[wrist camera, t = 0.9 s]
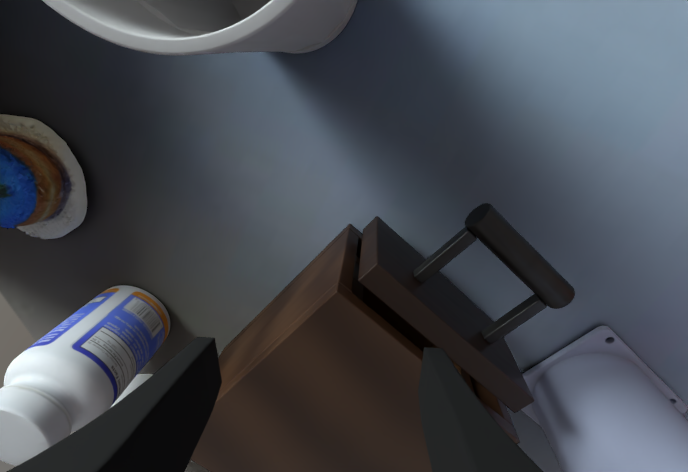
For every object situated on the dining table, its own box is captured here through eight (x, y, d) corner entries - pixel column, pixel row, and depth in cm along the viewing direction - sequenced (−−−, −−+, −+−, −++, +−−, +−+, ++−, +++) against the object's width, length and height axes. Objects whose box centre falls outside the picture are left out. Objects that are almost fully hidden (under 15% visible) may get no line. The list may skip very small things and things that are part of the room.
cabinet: (350, 222, 21) (336, 290, 14) (478, 336, 24) (520, 442, 17) (224, 348, 26) (167, 445, 19) (341, 432, 28) (330, 546, 21)
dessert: (53, 101, 19) (-14, 190, 16) (133, 181, 24) (94, 258, 21) (-65, 109, 20) (-148, 192, 17) (36, 183, 26) (-13, 256, 23)
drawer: (441, 153, 18) (467, 181, 13) (564, 278, 20) (630, 346, 15) (248, 339, 24) (212, 411, 19) (360, 421, 26) (355, 506, 21)
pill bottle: (104, 338, 27) (-34, 467, 18) (94, 276, 24) (-69, 386, 16) (175, 351, 26) (72, 487, 18) (172, 290, 24) (53, 409, 15)
